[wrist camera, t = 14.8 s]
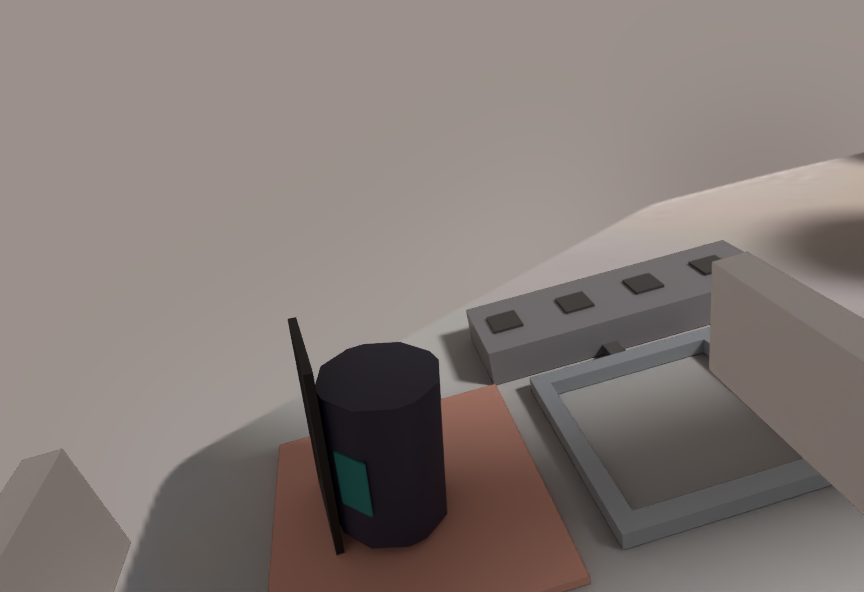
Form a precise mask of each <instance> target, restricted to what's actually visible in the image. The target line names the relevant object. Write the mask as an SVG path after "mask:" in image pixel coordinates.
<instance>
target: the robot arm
mask: <svg viewBox="0 0 864 592" xmlns="http://www.w3.org/2000/svg"><path fill="white" fill-rule="evenodd" d="M709 370H710V371H711V372H712V373H713V374H714V375H715V376H716V377H717V378H718V379H719V380H720V381H722V382H723V383H724V384H725V385H726V386H727V387H728V388H729V389H730V390H731V391H732V392H733V393H734V394H735V395H737V396H738V397H739V398H740V399H741V400H742V401H743V402H744V403H745V404H746V405H747V406H748V407H749V408H750V409H751V410H753V411H754V412H755V413H756V414H757V415H758V416H759V417H760V418H761V419H762V420H763V421H764V422H765V423H766V424H767V425H769V426H770V427H771V428H772V429H773V430H774V431H775V432H776V433H777V434H778V435H779V436H780V437H781V438H782V439H783V440H785V441H786V442H787V443H788V444H789V445H790V446H791V447H792V448H793V449H794V450H795V451H796V452H797V453H798V454H799V455H801V456H802V457H803V458H804V459H805V460H806V461H807V462H808V463H809V464H810V465H811V466H812V467H813V468H814V469H816V470H817V471H818V472H819V473H820V474H821V475H822V476H823V477H824V478H825V479H826V480H827V481H828V482H829V483H830V484H832V485H833V486H834V487H835V488H836V489H837V490H838V491H839V492H840V493H841V494H842V495H843V496H844V497H845V498H846V499H848V500H849V501H850V502H851V503H852V504H853V505H854V506H855V507H856V508H857V509H858V510H859V511H860V512H861V513H862V514H864V319H863V318H861V317H860V316H858V315H856V314H855V313H853V312H851V311H849V310H848V309H846V308H844V307H842V306H841V305H839V304H837V303H835V302H834V301H832V300H830V299H829V298H827V297H825V296H823V295H822V294H820V293H818V292H816V291H815V290H813V289H811V288H809V287H808V286H806V285H804V284H803V283H801V282H799V281H797V280H796V279H794V278H792V277H790V276H789V275H787V274H785V273H784V272H782V271H780V270H778V269H777V268H775V267H773V266H771V265H770V264H768V263H766V262H764V261H763V260H761V259H759V258H758V257H756V256H754V255H752V254H751V253H749V252H744V253H741V254H738V255H734V256H731V257H727V258H724V259H720V260H717V261H713V262H712V278H711V315H710V352H709ZM130 544H131V542H130V540H129V539H128V537H127V536H126V534H125V533H124V532H123V530H122V529H121V528H120V526H119V525H118V524H117V522H116V521H115V520H114V518H113V517H112V516H111V514H110V513H109V511H108V510H107V509H106V507H105V506H104V505H103V503H102V502H101V500H100V499H99V498H98V496H97V495H96V494H95V492H94V491H93V490H92V488H91V487H90V485H89V484H88V483H87V481H86V480H85V479H84V477H83V476H82V475H81V473H80V472H79V471H78V469H77V468H76V467H75V465H74V464H73V462H72V461H71V460H70V458H69V457H68V456H67V454H66V453H65V451H64V450H63V449H60V450H56V451H53V452H49V453H46V454H42V455H39V456H36V457H32V458H28V459H25V460H22V461H21V463H20V464H19V466H18V467H17V469H16V470H15V472H14V474H13V475H12V476H11V478H10V480H9V481H8V483H7V484H6V486H5V488H4V489H3V490H2V492H1V493H0V592H114V590H115V587H116V584H117V581H118V578H119V575H120V572H121V570H122V567H123V564H124V561H125V558H126V555H127V552H128V550H129V547H130Z"/></svg>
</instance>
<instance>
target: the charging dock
mask: <svg viewBox="0 0 864 592" xmlns="http://www.w3.org/2000/svg"><path fill="white" fill-rule="evenodd" d="M741 253H744V252H743V251H741V250H740V249H738V248H736V247H734V246H732V245H731V244H729V243H727V242H725V241H723V240H721V241H718V242H714V243H710V244H707V245H703V246H699V247H696V248H692V249H688V250H685V251H681V252H677V253H674V254H670V255H666V256H663V257H659V258H655V259H652V260H648V261H644V262H641V263H637V264H633V265H630V266H626V267H622V268H619V269H615V270H611V271H608V272H604V273H600V274H597V275H593V276H589V277H586V278H582V279H578V280H575V281H571V282H567V283H564V284H560V285H556V286H553V287H549V288H545V289H542V290H538V291H534V292H531V293H527V294H523V295H520V296H516V297H512V298H509V299H505V300H501V301H498V302H494V303H490V304H487V305H483V306H479V307H476V308H472V309H468V310H466V313H467V318H468V323H469V328H470V333H471V338H472V340H473V342H474V344H475V347H476V349H477V351H478V353H479V355H480V357H481V359H482V361H483V363H484V365H485V367H486V369H487V371H488V373H489V375H490V377H491V380H492V382H493V384H496V385H498V384H501V383H505V382H508V381H512V380H515V379H519V378H522V377H526V376H529V375H533V374H536V373H540V372H544V371H547V370H551V369H554V368H558V367H561V366H565V365H568V364H572V363H575V362H579V361H582V360H586V359H589V358H593V357H596V356H600V355H604V356H605V357H602V358H598V359H595V360H591V361H588V362H584V363H581V364H577V365H574V366H570V367H567V368H563V369H560V370H556V371H553V372H549V373H546V374H542V375H539V376H535V377H532V378H530V384H531V391H532V392H533V394H534V396H535V398H536V399H537V401H538V403H539V405H540V406H541V408H542V410H543V412H544V413H545V415H546V417H547V418H548V420H549V422H550V424H551V425H552V427H553V429H554V431H555V432H556V434H557V436H558V438H559V439H560V441H561V443H562V444H563V446H564V448H565V450H566V451H567V453H568V455H569V457H570V458H571V460H572V462H573V464H574V465H575V467H576V469H577V471H578V472H579V474H580V476H581V477H582V479H583V481H584V483H585V484H586V486H587V488H588V490H589V491H590V493H591V495H592V497H593V498H594V500H595V502H596V503H597V505H598V507H599V509H600V510H601V512H602V514H603V516H604V517H605V519H606V521H607V523H608V524H609V526H610V528H611V529H612V531H613V533H614V535H615V536H616V538H617V540H618V542H619V543H620V545H621V547H622V549H623V550H625V549H628V548H631V547H634V546H637V545H641V544H644V543H647V542H650V541H653V540H657V539H660V538H663V537H666V536H670V535H673V534H676V533H679V532H682V531H686V530H689V529H692V528H695V527H699V526H702V525H705V524H708V523H711V522H715V521H718V520H721V519H724V518H727V517H731V516H734V515H737V514H740V513H744V512H747V511H750V510H753V509H756V508H760V507H763V506H766V505H769V504H773V503H776V502H779V501H782V500H785V499H789V498H792V497H795V496H798V495H801V494H805V493H808V492H811V491H814V490H818V489H821V488H824V487H827V486H830V485H832V484H830V483H829V482H828V481H827V480H826V479H825V478H824V477H823V476H822V475H821V474H820V473H819V472H818V471H817V470H816V469H814V468H813V467H812V466H811V465H810V464H809V463H808V462H807V461H806V460H805V459H804V458H803V459H799V460H796V461H793V462H790V463H786V464H783V465H780V466H777V467H773V468H770V469H767V470H763V471H760V472H757V473H754V474H750V475H747V476H744V477H741V478H737V479H734V480H731V481H727V482H724V483H721V484H718V485H714V486H711V487H708V488H705V489H701V490H698V491H695V492H692V493H688V494H685V495H682V496H678V497H675V498H672V499H669V500H665V501H662V502H659V503H656V504H652V505H649V506H646V507H642V508H639V509H636V510H632V509H631V507H630V506H629V504H628V503H627V501H626V499H625V498H624V496H623V495H622V493H621V492H620V490H619V489H618V487H617V485H616V484H615V482H614V481H613V479H612V478H611V476H610V474H609V473H608V471H607V470H606V468H605V467H604V465H603V464H602V462H601V460H600V459H599V457H598V456H597V454H596V453H595V451H594V450H593V448H592V446H591V445H590V443H589V442H588V440H587V439H586V437H585V435H584V434H583V432H582V431H581V429H580V428H579V426H578V425H577V423H576V421H575V420H574V418H573V417H572V415H571V414H570V412H569V411H568V409H567V407H566V406H565V404H564V403H563V401H562V400H561V398H560V396H559V395H558V394H560V393H564V392H567V391H571V390H574V389H578V388H581V387H585V386H588V385H592V384H595V383H599V382H602V381H606V380H609V379H613V378H616V377H619V376H623V375H626V374H630V373H633V372H637V371H640V370H644V369H647V368H651V367H654V366H658V365H661V364H665V363H668V362H672V361H675V360H679V359H682V358H686V357H689V356H693V355H696V354H700V353H703V352H704V353H705V354H706V355H707V356H708V357H709V352H710V327H708V328H704V329H700V330H697V331H693V332H690V333H686V334H683V335H679V336H676V337H672V338H669V339H665V340H662V341H658V342H655V343H651V344H648V345H644V346H641V347H637V348H634V349H630V350H627V351H626V350H625V348H628V347H632V346H635V345H639V344H642V343H646V342H649V341H653V340H656V339H660V338H663V337H667V336H670V335H674V334H677V333H681V332H684V331H688V330H692V329H695V328H699V327H702V326H706V325H709V324H710V315H711V278H712V262H713V261H717V260H720V259H724V258H727V257H731V256H734V255H738V254H741Z"/></svg>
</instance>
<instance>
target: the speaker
mask: <svg viewBox="0 0 864 592" xmlns="http://www.w3.org/2000/svg"><path fill="white" fill-rule="evenodd" d="M288 324H289V329H290V334H291V339H292V345H293V350H294V355H295V360H296V365H297V370H298V376H299V381H300V386H301V392H302V397H303V402H304V408H305V413H306V418H307V423H308V429H309V434H310V439H311V444H312V450H313V455H314V460H315V465H316V471H317V476H318V481H319V485H320V489H321V494H322V498H323V502H324V506H325V510H326V514H327V518H328V522H329V527H330V531H331V535H332V539H333V543H334V547H335V551H336V555H339V554H342V553H345V551H344V546H343V540H342V535H341V529H340V526H341V528H342V530H343V532H344V533H345V534H347V535H349V536H351V537H352V538H354V539H356V540H358V541H359V542H361V543H363V544H364V545H366V546H368V547H370V548H371V549H375V548H393V547H410V546H412V545H414V544H416V543H418V542H420V541H422V540H424V539H427V538H428V536H429V535H430V534H431V533H432V532H433V530H434V529H435V528H436V527H437V526H438V524H439V523H440V522H441V521H442V520H443V518H444V517H445V516H446V515H447V498H446V481H445V463H444V446H443V429H442V412H441V394H440V377H439V360H438V359H437V358H436V357H435V356H434V355H433V354H432V353H431V352H430V351H427V350H424V349H421V348H418V347H414V346H411V345H408V344H405V343H402V342H392V343H375V344H363V345H359V346H356V347H353V348H349V349H346V350H345V351H344V352H342V353H341V354H339V355H337V356H336V357H334V358H333V359H331V360H330V361H328V362H327V363H325V364H324V365H322V366H321V367H320V370H319V374H318V377H317V380H316V384H315V382H314V376H313V372H312V368H311V365H310V362H309V358H308V355H307V352H306V349H305V345H304V342H303V339H302V335H301V332H300V329H299V326H298V322H297V319H296V317H295V318H290V319H288Z"/></svg>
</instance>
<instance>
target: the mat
mask: <svg viewBox="0 0 864 592" xmlns="http://www.w3.org/2000/svg"><path fill="white" fill-rule="evenodd" d="M441 412H442V429H443V446H444V463H445V481H446V498H447V515H446V516H445V517H444V518H443V520H442V521H441V522H440V523H439V524H438V526H437V527H436V528H435V529H434V530H433V532H432V533H431V534H430V535H429V536H428V538H427V539H424V540H422V541H420V542H418V543H416V544H414V545H412V546H410V547H393V548H375V549H371V548H370V547H368V546H366V545H364V544H363V543H361V542H359V541H358V540H356V539H354V538H352V537H351V536H349V535H347V534H345V533H344V532H343V530H342V528H341V526H340V529H341V535H342V540H343V546H344V551H345V553H342V554H339V555H336V551H335V547H334V543H333V539H332V535H331V531H330V527H329V522H328V518H327V514H326V510H325V506H324V502H323V498H322V494H321V489H320V485H319V481H318V476H317V471H316V465H315V460H314V455H313V450H312V444H311V439H310V437H306V438H303V439H299V440H296V441H292V442H289V443H285V444H281V445H280V447H279V460H278V473H277V486H276V499H275V511H274V524H273V537H272V550H271V562H270V575H269V588H268V592H564V591H567V590H571V589H574V588H577V587H580V586H583V585H587V584H590V576H589V574H588V572H587V570H586V568H585V566H584V564H583V562H582V559H581V557H580V555H579V553H578V551H577V549H576V547H575V545H574V543H573V541H572V539H571V537H570V535H569V533H568V531H567V529H566V527H565V525H564V523H563V521H562V519H561V517H560V515H559V513H558V510H557V508H556V506H555V504H554V502H553V500H552V498H551V496H550V494H549V492H548V490H547V488H546V486H545V484H544V482H543V480H542V478H541V476H540V474H539V472H538V470H537V468H536V466H535V464H534V462H533V459H532V457H531V455H530V453H529V451H528V449H527V447H526V445H525V443H524V441H523V439H522V437H521V435H520V433H519V431H518V429H517V427H516V425H515V423H514V421H513V419H512V417H511V415H510V413H509V410H508V408H507V406H506V404H505V402H504V400H503V398H502V396H501V394H500V392H499V390H498V388H497V386H496V384H493V385H490V386H486V387H482V388H479V389H475V390H472V391H468V392H465V393H461V394H458V395H454V396H451V397H447V398H444V399H441Z"/></svg>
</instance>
